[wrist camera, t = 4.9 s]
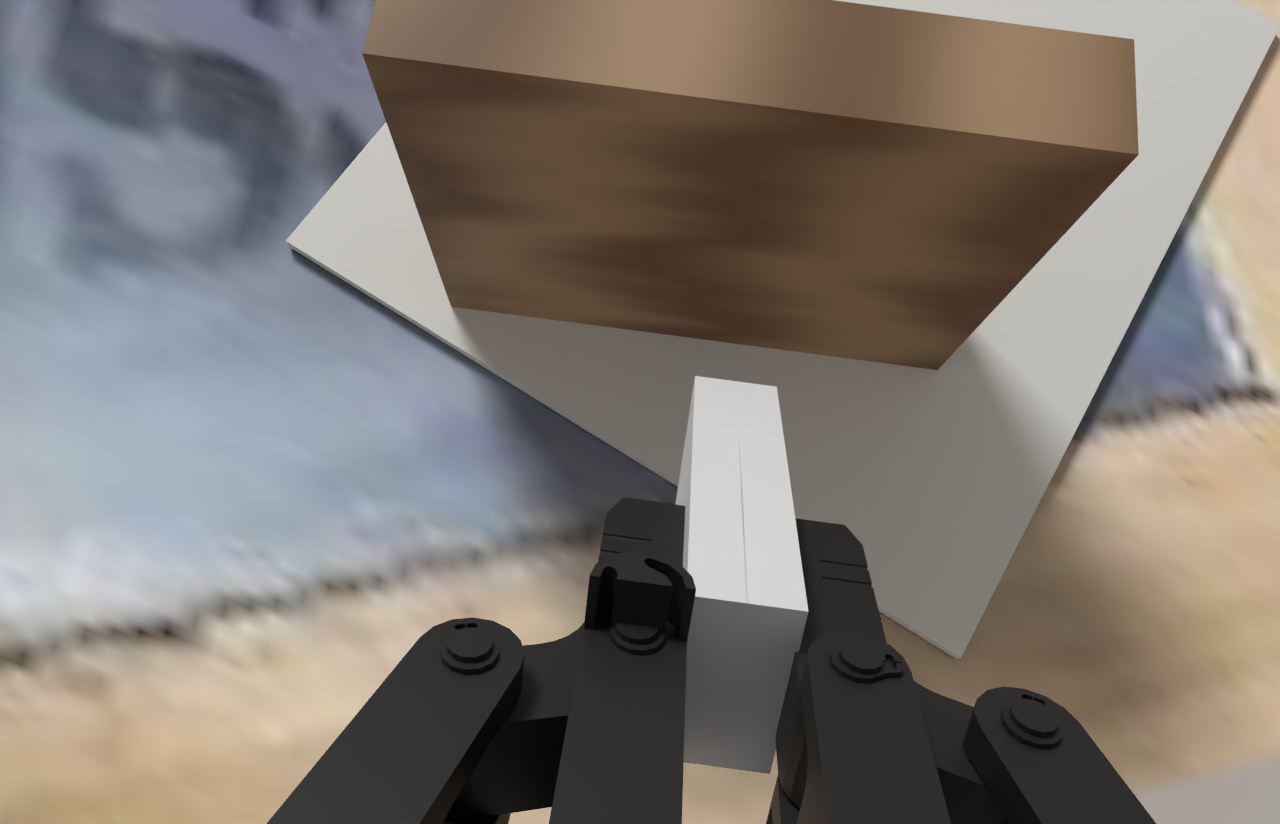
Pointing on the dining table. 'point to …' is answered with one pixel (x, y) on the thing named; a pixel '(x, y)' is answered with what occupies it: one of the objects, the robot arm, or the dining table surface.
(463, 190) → the walnut board
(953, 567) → the felt mat
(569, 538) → the dining table surface
